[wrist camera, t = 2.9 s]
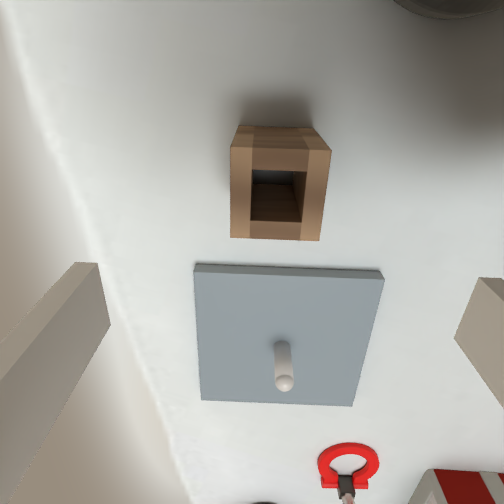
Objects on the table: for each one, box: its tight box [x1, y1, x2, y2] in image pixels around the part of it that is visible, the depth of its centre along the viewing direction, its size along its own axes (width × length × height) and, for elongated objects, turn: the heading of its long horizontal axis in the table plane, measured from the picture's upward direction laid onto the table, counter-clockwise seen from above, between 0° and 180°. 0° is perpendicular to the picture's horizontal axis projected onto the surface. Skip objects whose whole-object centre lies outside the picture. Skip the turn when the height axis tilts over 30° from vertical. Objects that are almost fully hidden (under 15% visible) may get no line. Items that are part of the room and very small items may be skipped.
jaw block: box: [230, 126, 332, 241], centre depth 25 cm, size 6×6×8 cm
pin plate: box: [193, 264, 385, 407], centre depth 35 cm, size 18×18×7 cm
